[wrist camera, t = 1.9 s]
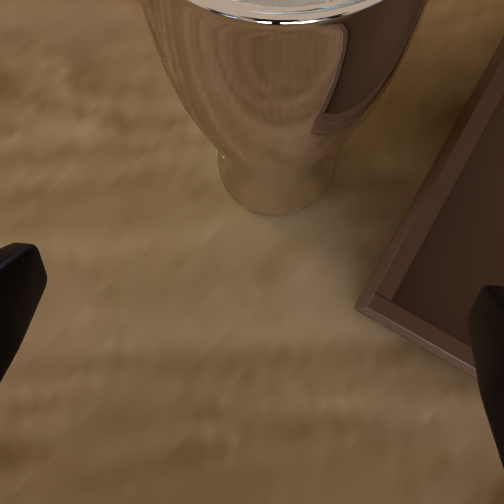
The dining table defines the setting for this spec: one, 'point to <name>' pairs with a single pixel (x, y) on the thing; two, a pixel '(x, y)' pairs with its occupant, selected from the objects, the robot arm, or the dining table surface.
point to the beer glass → (280, 83)
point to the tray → (449, 234)
